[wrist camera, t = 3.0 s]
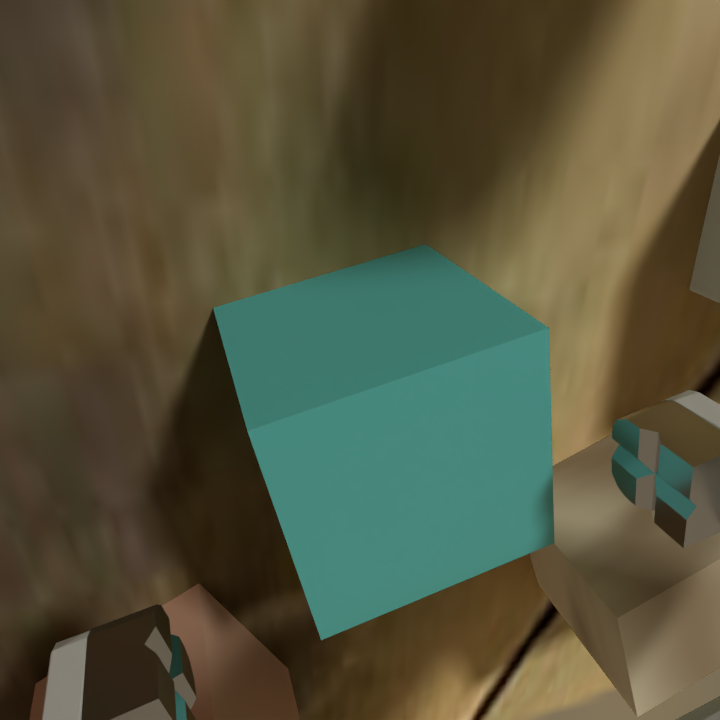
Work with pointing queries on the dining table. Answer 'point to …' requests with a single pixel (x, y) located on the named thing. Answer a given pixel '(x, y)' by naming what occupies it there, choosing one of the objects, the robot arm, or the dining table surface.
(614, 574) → the maple block
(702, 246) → the grey block
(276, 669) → the terracotta block
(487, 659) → the dining table surface
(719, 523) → the robot arm
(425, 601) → the dining table surface
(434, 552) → the teal block
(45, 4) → the dining table surface
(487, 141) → the dining table surface
